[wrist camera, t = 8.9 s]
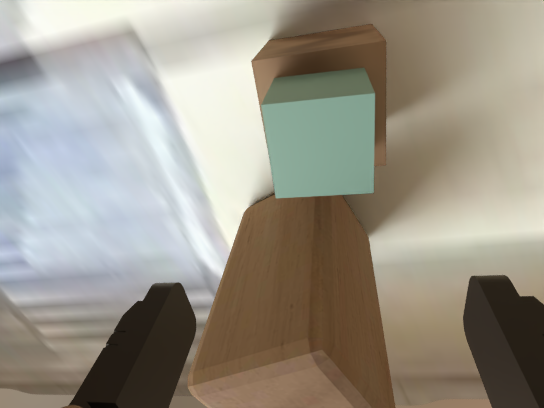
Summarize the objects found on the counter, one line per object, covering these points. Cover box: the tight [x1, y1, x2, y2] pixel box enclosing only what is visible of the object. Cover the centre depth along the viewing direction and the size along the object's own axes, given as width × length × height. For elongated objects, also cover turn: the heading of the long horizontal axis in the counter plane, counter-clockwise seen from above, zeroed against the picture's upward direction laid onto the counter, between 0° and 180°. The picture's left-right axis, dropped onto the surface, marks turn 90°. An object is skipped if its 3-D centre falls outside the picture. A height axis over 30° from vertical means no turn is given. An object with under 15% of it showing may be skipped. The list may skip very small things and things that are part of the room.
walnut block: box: [251, 24, 386, 166], centre depth 27 cm, size 8×8×8 cm
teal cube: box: [261, 68, 375, 198], centre depth 21 cm, size 6×6×6 cm
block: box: [188, 194, 395, 408], centre depth 29 cm, size 10×10×20 cm
